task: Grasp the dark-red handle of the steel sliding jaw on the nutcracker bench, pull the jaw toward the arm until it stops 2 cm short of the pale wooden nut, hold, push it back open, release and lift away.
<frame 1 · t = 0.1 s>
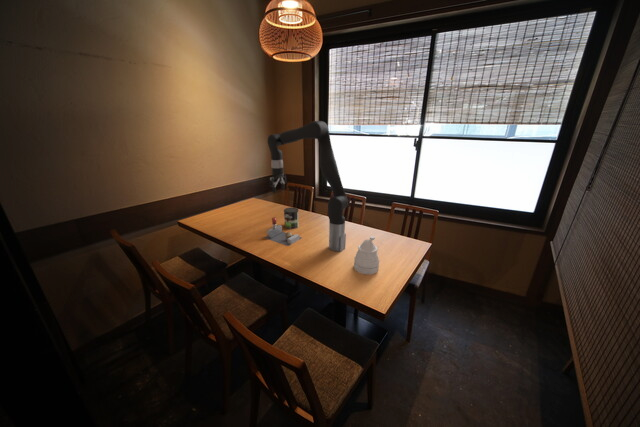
hand: (278, 191, 165), 29 cm above the table, fingers open, 8 cm apart
nutcracker bench: (283, 239, 162), on the table
honey pot: (366, 267, 132), on the table
walnut: (288, 235, 158), point 5 cm above the table, touching nutcracker bench
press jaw: (274, 226, 163), point 8 cm above the table, slide at 0.0 cm
coffee can: (291, 228, 181), on the table
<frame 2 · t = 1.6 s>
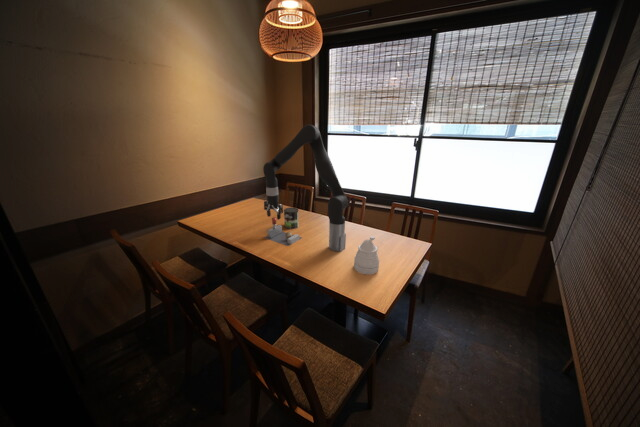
hand: (273, 217, 161), 14 cm above the table, fingers open, 8 cm apart
nothing on the table moved.
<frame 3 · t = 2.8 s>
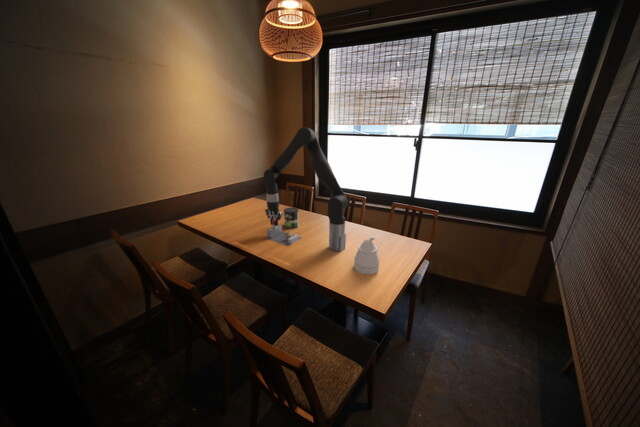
hand: (274, 225, 163), 9 cm above the table, fingers closed on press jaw, 2 cm apart
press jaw: (274, 226, 163), point 8 cm above the table, slide at 0.0 cm, touching gripper
everything else where it was.
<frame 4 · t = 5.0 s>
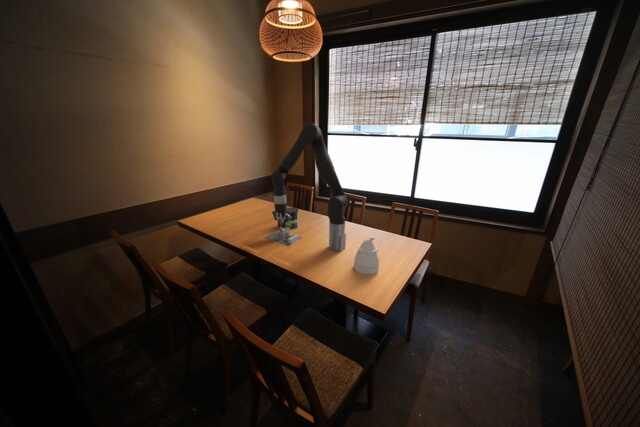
hand: (281, 227, 160), 9 cm above the table, fingers closed on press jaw, 2 cm apart
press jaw: (281, 228, 160), point 8 cm above the table, slide at 6.5 cm, touching gripper
everything else where it was.
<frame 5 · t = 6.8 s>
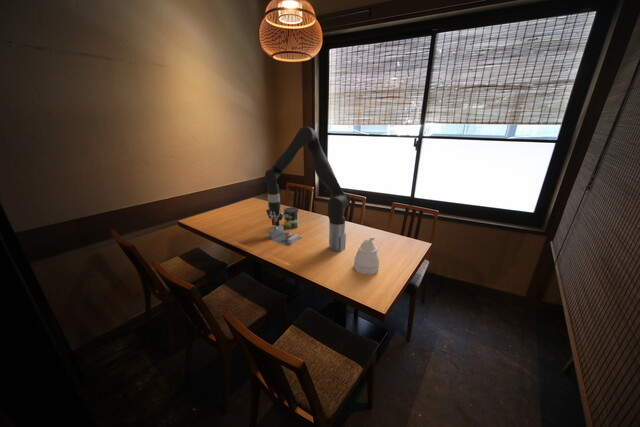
hand: (275, 225, 162), 9 cm above the table, fingers closed on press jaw, 2 cm apart
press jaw: (275, 227, 163), point 8 cm above the table, slide at 1.2 cm, touching gripper
everything else where it was.
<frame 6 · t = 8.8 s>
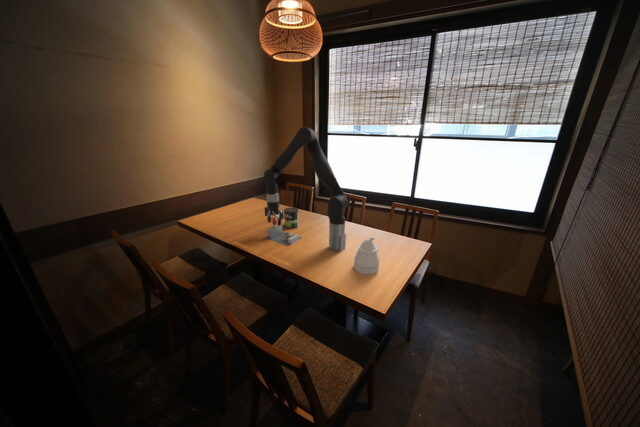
hand: (274, 223, 163), 10 cm above the table, fingers open, 8 cm apart
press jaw: (274, 226, 163), point 8 cm above the table, slide at 0.3 cm
everything else where it was.
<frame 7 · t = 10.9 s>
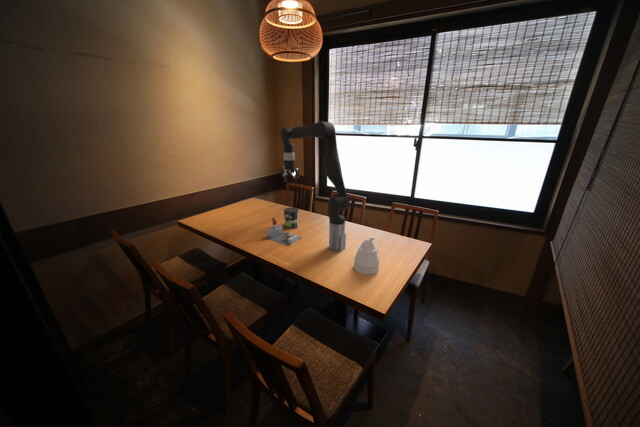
hand: (290, 182, 173), 33 cm above the table, fingers open, 8 cm apart
nothing on the table moved.
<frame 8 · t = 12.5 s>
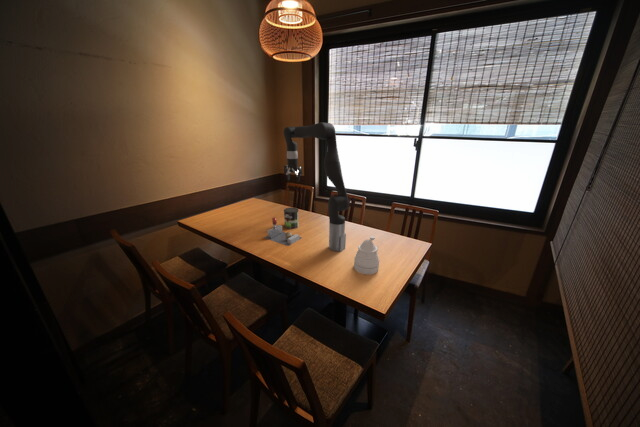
hand: (293, 180, 176), 33 cm above the table, fingers open, 8 cm apart
nothing on the table moved.
at the end: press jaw slide at 0.3 cm; walnut moved 0.1 cm from its start; the gripper is holding nothing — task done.
